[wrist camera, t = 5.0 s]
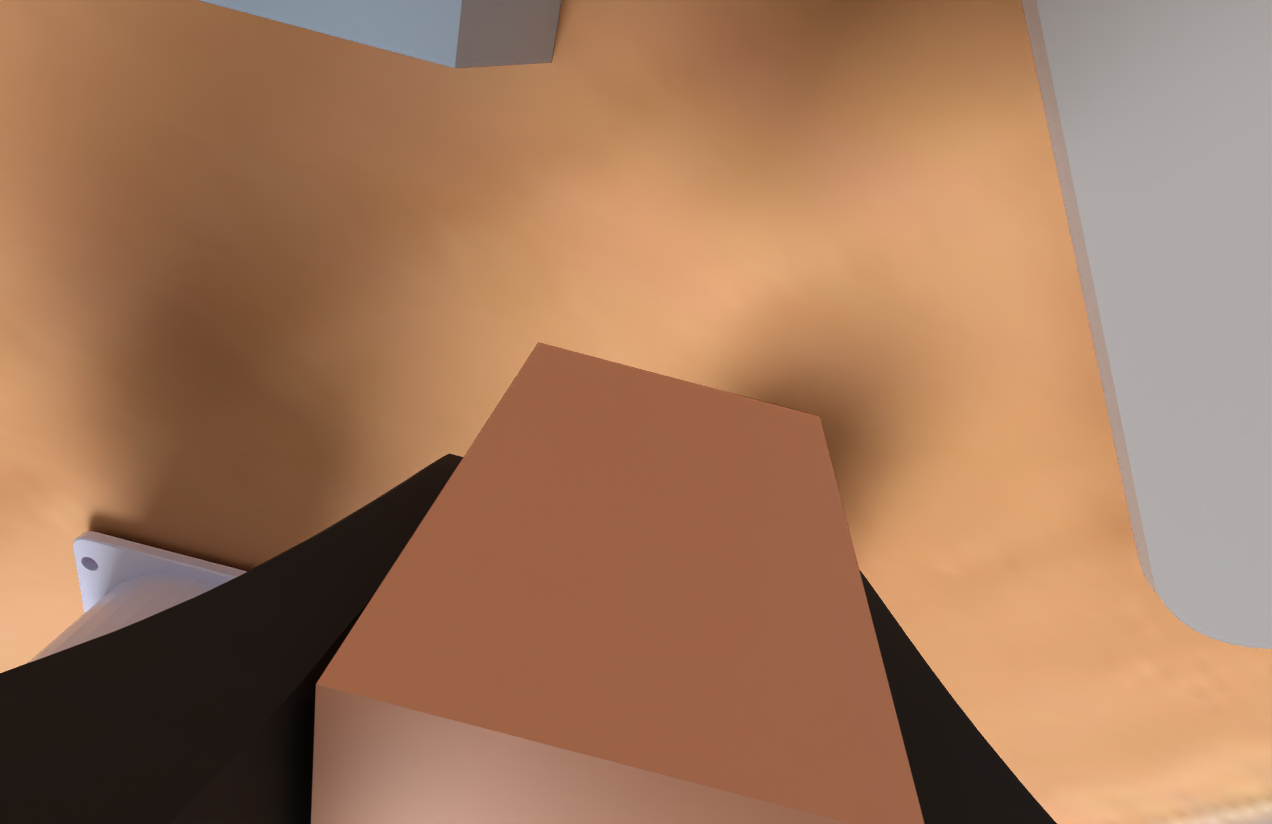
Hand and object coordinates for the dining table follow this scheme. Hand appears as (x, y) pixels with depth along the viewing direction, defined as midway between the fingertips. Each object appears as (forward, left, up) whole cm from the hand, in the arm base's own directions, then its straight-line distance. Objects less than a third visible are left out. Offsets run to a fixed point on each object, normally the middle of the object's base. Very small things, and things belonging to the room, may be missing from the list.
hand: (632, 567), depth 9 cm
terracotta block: (0, 0, -2) cm, 2 cm away
